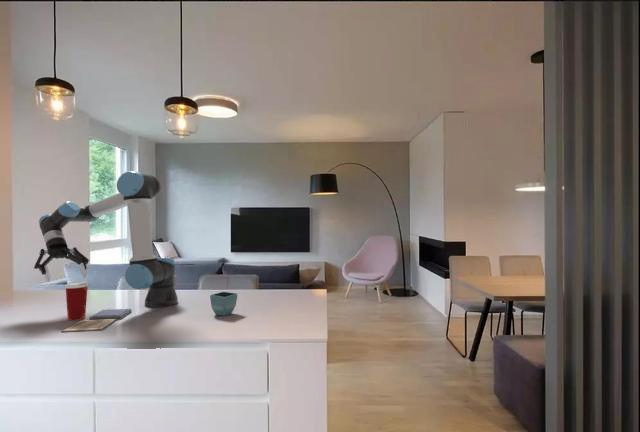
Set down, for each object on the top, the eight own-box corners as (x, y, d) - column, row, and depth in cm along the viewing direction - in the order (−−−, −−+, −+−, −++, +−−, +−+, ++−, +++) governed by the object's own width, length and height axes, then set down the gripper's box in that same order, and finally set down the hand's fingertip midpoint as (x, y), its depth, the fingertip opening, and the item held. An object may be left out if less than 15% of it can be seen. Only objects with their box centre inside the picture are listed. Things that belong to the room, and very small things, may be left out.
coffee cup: (92, 316, 147) (93, 282, 147) (73, 322, 139) (73, 285, 139) (79, 314, 149) (79, 280, 150) (59, 320, 142) (59, 284, 142)
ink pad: (131, 311, 155) (131, 308, 155) (120, 319, 143) (120, 315, 143) (102, 312, 153) (102, 309, 153) (89, 320, 141) (89, 316, 141)
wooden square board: (117, 319, 142) (117, 318, 142) (102, 330, 129) (102, 329, 129) (80, 321, 140) (80, 320, 140) (61, 332, 126) (61, 330, 126)
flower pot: (238, 313, 154) (238, 293, 154) (224, 317, 146) (225, 297, 146) (222, 310, 158) (223, 291, 158) (209, 315, 150) (209, 295, 150)
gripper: (83, 246, 171) (96, 278, 162) (19, 249, 151) (29, 286, 142) (88, 235, 168) (101, 268, 159) (23, 237, 148) (34, 275, 139)
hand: (67, 277), depth 150 cm, fingers open, 13 cm apart
